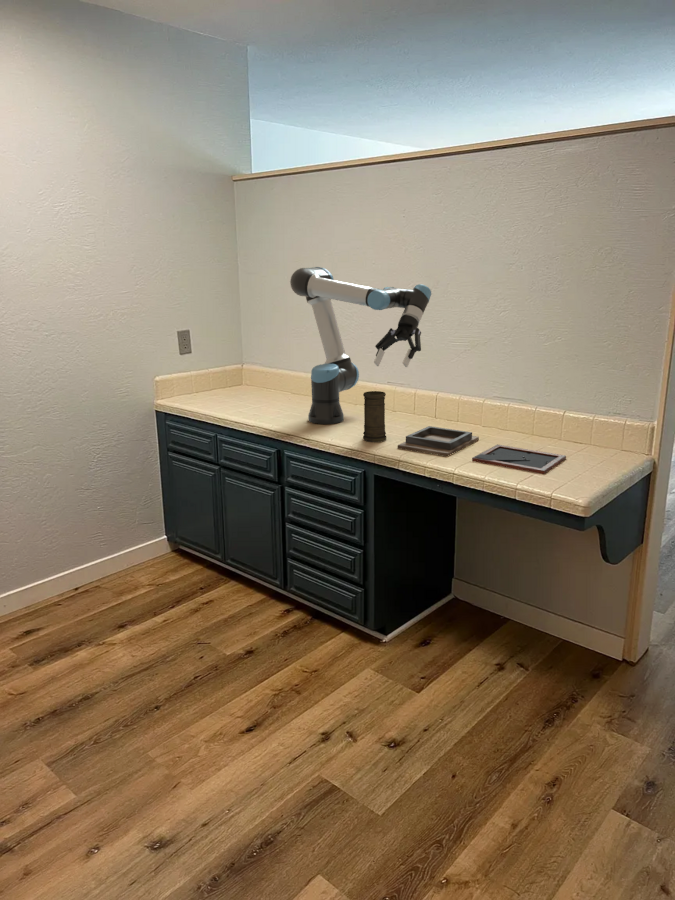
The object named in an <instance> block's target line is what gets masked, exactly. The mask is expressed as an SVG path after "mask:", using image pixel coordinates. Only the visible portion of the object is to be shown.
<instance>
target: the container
mask: <svg viewBox="0 0 675 900" xmlns="http://www.w3.org/2000/svg"><path fill="white" fill-rule="evenodd" d="M363 397H364V398H363V399H364V403H363V405H364V406H363V409H364V413H363V414H364V416H363V417H364V423H363V424H364V425H363V429H364V430H363V435H362V436H363V437H362V440H363V439H364V440H363V441H364V442H368V443H369V442H371V443H381V441H382V442H384V441H386V440H387V435H386V434H387V433H386V423H385V422H386V420H385V419H386V418H385V416H386V415H385V413H386V411H385V409H386V407H385V405H386V403H385V400H386V392H384V391H379V390H378V391H377V390H373V391H372V390H371V391H369V390H368V391H365V392H363Z"/></svg>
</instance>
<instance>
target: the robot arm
mask: <svg viewBox="0 0 675 900" xmlns="http://www.w3.org/2000/svg"><path fill="white" fill-rule="evenodd" d="M289 282H290V288H291V289H292V291H293V293H294V294H296V295H297V296H299V297H305V300H306V303H307V304H309V305H310V306H311V308H312V310H313V315H314V319H315V323H316V325H317V326H316V327H317V330H318V333H319V337H320V340H321V343H322V347H323V351H324V355H325V358H326V359H325V361H324V363H323V364H317V365H314V367H313V368H312V369H311V374H310V381H311V404H310V409H309V412H308V415H307V416H308V417H307V419H308V420H309V421H310V422H309V421H308V422H309V423H311V422H312V424H315V423H318V424H317V425H334V424H338V423H342V422H343V421H344V419H345V417H344V415H345V414H344V412H343V409H342V406H341V403H340V393H341V392H344V391H347V390H350V389H351V388H353V387H355V386H356V385H357V383H358V381H359V377H360V371H359V368H358V367H357V365H356V364H354V362H352V359H351V357H350V356H349V355H348V354H347V353H346V351H345V348H344V344H343V339H342V336H341V333H340V329H339V326H338V321H337V318H336V314H335V311H334V307H333V303H332V300H334V301H340V302H344V303H349V304H350V303H351V304H355V305H359V306H364V307H368V308H369V307H370V308H371V309H372V310H374V311H382V310H389V309H393V308H401V309H403V311H402V314H401V316H400V318H399V321H398V323H397V328H396V329H393V328H391V327H390V328H389V330H388V331H387V333H386V334H385V335H384V336H383V337H382V338H381V339H380V340H379V341H378V342H377V343H376V344H375V346H374V347H375V348H376V349H377V352H376V353H375V359H374V361H373V363H374V365H375V366H376V367H379V366H380V364H381V362H382V360H383V357H384V355H385V353H386V352H385V351H386V350H387V349H389V348H390V347H392V345H393V344H395V343H398V342H400V341H401V342H402V341H403V342H406V341H407V342H408V343H407V344H408V346H409V348H408V350H407V352H406V354H405V356H404V358H403V361H402V364H403V366H404V367H405V368H408V367H409V364H410V362H411V360H413V358H414V356H415V354H416V352H420V351H422V346H421V345H422V344H421V334H422V331H421V330H420V329H419V325H420V322H421V320H422V317H423V315H424V312H425V311H426V309H427V306H428V304H429V303H430V299H431V296H432V290H431V288H429V286H427V285H425V284H422V283H419V284H416V285H414V287H413V289H411V288H410V289H406V288H399V287H394V286H386V287H384V288H376V287H371V286H367V285H362V284H355V283H351V282H347V281H340V280H337V279H334V277H333V275H332V272H330V271H329V270H328V269H326V267H319V266H313V267H300V268H298V269H296V270H295V271H294V272H293V273H292V274H291V277H290V281H289ZM412 337H414V341H413V339H412Z"/></svg>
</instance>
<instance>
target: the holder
mask: <svg viewBox="0 0 675 900" xmlns="http://www.w3.org/2000/svg"><path fill="white" fill-rule="evenodd" d="M479 439H480V437H479V436H475V435H473V432H472V431H465V430H459V429H457V430H456V429H451V428H445V427H438V426H430V425H429V426H426V427H424V428H422V429H419V430H417V431H414V432H412V433H410V434H408V435H406V436H405V441H403V442H402V443H400V444H398V445H397V449H399V448H402V449H401V450H405V449H407V450H406V451H411V450H412V452H417V451H418V452H417V453H423V452H425V453H424V454H429V453H432V454H431V455H435V454H438V455H437V456H440V455H443V457H446V456H448V455H450V454H452V453H454V452H455V453H457V452H459V451H461V450H462V448H463V449H465V448H467V447H468V446H471V445H472V444H473V443H476V442H478V441H479ZM477 440H478V441H477ZM466 446H467V447H466ZM464 447H465V448H464ZM460 449H461V450H460ZM458 450H459V451H458ZM456 451H457V452H456ZM455 453H454V454H455ZM452 455H453V454H452ZM450 456H451V455H450ZM448 457H449V456H448Z"/></svg>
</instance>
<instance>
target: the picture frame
mask: <svg viewBox="0 0 675 900" xmlns="http://www.w3.org/2000/svg"><path fill="white" fill-rule="evenodd" d="M471 458H472V459H471V461H472V462H475V461H476V462H477V463H480V462H481V463H482V464H488V465H493V466H498V467H504V468H510V469H515V470H519V471H520V470H521V471H527V472H531V473H536V474H542V475H544V474H546V473H548V472H549V471H550V470H552V469H553V468H555V467H556V466H558V465H560V464H561V463H563V461H565V460H566V459H567V456H566V455H563V454H556V453H551V452H546V451H540V450H539V451H538V450H534V449H528V448H527V449H526V448H522V447H515V446H510V445H509V446H508V445H503V444H495V445H494V446H492V447H489V448H488V449H486V450H484V451H482V452H481V453H479V454H477V455H475V456H473V457H471Z"/></svg>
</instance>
